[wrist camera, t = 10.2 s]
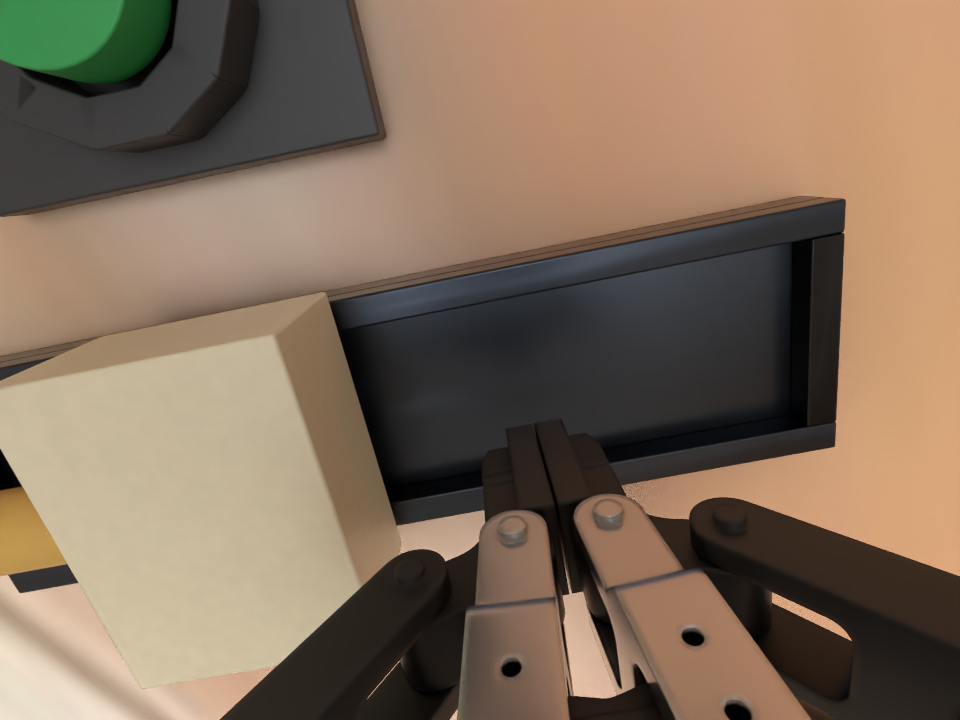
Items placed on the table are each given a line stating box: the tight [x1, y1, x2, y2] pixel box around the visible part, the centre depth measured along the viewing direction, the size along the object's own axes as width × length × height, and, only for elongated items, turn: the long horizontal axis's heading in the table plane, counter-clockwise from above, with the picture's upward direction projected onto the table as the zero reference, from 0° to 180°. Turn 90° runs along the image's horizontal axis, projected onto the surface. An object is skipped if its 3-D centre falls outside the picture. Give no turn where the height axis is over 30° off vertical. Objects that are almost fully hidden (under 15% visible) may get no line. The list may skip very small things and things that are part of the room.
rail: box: [0, 196, 846, 593], centre depth 18 cm, size 30×8×2 cm, turn 101°
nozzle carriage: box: [0, 292, 401, 689], centre depth 15 cm, size 13×9×6 cm
